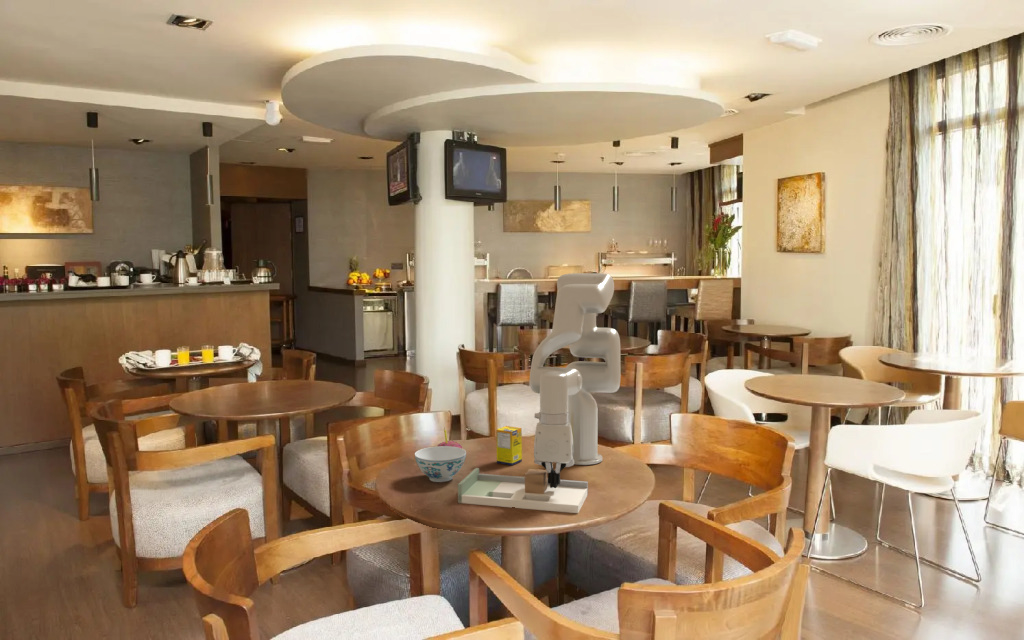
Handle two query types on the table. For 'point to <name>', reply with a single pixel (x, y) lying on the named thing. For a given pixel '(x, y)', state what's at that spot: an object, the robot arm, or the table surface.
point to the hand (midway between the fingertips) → (554, 486)
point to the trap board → (520, 493)
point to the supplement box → (509, 445)
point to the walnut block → (535, 481)
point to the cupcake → (449, 442)
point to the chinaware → (440, 462)
